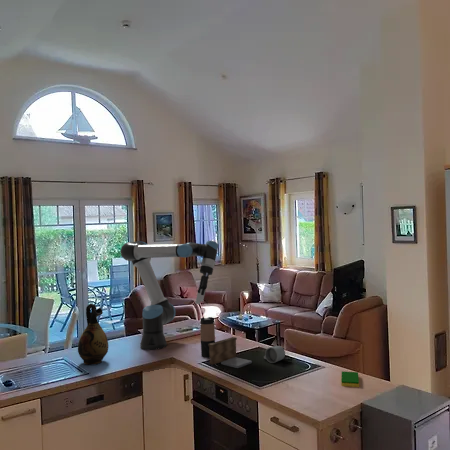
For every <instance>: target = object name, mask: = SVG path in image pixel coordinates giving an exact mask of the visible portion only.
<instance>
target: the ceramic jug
mask: <svg viewBox="0 0 450 450" xmlns="http://www.w3.org/2000/svg"><path fill="white" fill-rule="evenodd" d="M103 313H104V312H103V309H102V307H98V308H97V306H96V304H93V303H89V304H87V306H86V308H85V317H86V323H87V325H86V327H85V329H84V330H83V332H82V333H81V335H80V337H79V340H78V344H77V352H78V353H77V354H78V355H79V357H80V358H81V360H82V361H83V364H84V365H87V366H91V365H93V366H94V365H98V364H102V362H103V359H104V358H105V357H106V355H107V353H108V352H109V351H108V350H109V340H108V337H107V334H106V333H105V331H104V329H103V327H102V326H101V325H100V323H99V322H98V321H99V320H98V317H100V316H102V314H103Z"/></svg>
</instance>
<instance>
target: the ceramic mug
mask: <svg viewBox="0 0 450 450" xmlns="http://www.w3.org/2000/svg"><path fill="white" fill-rule="evenodd" d="M285 357H286V350H285V348H284V347H282V346H281V345H275V346H271V347H268V348H266V350H265V353H264V356H263V359H264V360H267V362H269V363H271V364H275V363H277V362H280V361H283V360H284V358H285Z"/></svg>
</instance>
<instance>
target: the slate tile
mask: <svg viewBox="0 0 450 450" xmlns="http://www.w3.org/2000/svg"><path fill="white" fill-rule="evenodd" d="M252 363H253V361H252V360H249V359H246V358H240V357H237V356H236V357H234V358H231V359H228V360H225V361H222V362H220V364H221V365H224V366H227V367H231V368H235V369H239V368H242V367H245V366H247V365H250V364H252Z"/></svg>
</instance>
